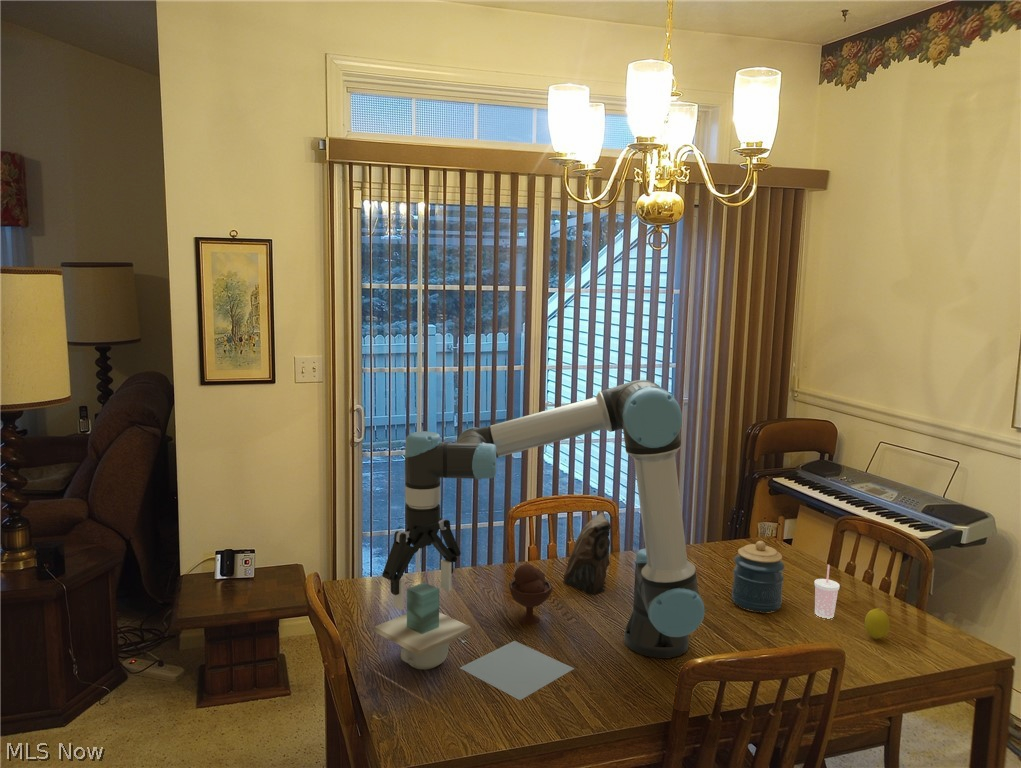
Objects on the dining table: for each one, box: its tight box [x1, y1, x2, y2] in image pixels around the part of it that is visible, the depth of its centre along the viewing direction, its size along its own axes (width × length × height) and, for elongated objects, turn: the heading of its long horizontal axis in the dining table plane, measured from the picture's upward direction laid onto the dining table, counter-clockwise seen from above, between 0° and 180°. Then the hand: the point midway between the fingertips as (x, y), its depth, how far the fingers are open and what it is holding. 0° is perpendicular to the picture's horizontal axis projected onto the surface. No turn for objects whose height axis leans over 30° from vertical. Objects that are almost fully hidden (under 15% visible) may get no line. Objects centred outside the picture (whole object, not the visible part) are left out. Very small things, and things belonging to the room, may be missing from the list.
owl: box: [562, 511, 612, 596], centre depth 213 cm, size 13×13×20 cm
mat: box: [459, 640, 575, 701], centre depth 168 cm, size 18×18×1 cm
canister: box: [731, 540, 786, 612], centre depth 204 cm, size 13×13×18 cm
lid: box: [373, 582, 472, 656], centre depth 167 cm, size 15×15×10 cm
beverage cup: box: [813, 564, 840, 619], centre depth 198 cm, size 6×6×14 cm
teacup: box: [400, 642, 450, 670], centre depth 168 cm, size 14×11×8 cm
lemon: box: [864, 607, 891, 640], centre depth 186 cm, size 6×6×8 cm
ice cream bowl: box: [508, 563, 553, 625], centre depth 191 cm, size 11×11×15 cm
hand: (423, 598), depth 166 cm, fingers open, 13 cm apart
